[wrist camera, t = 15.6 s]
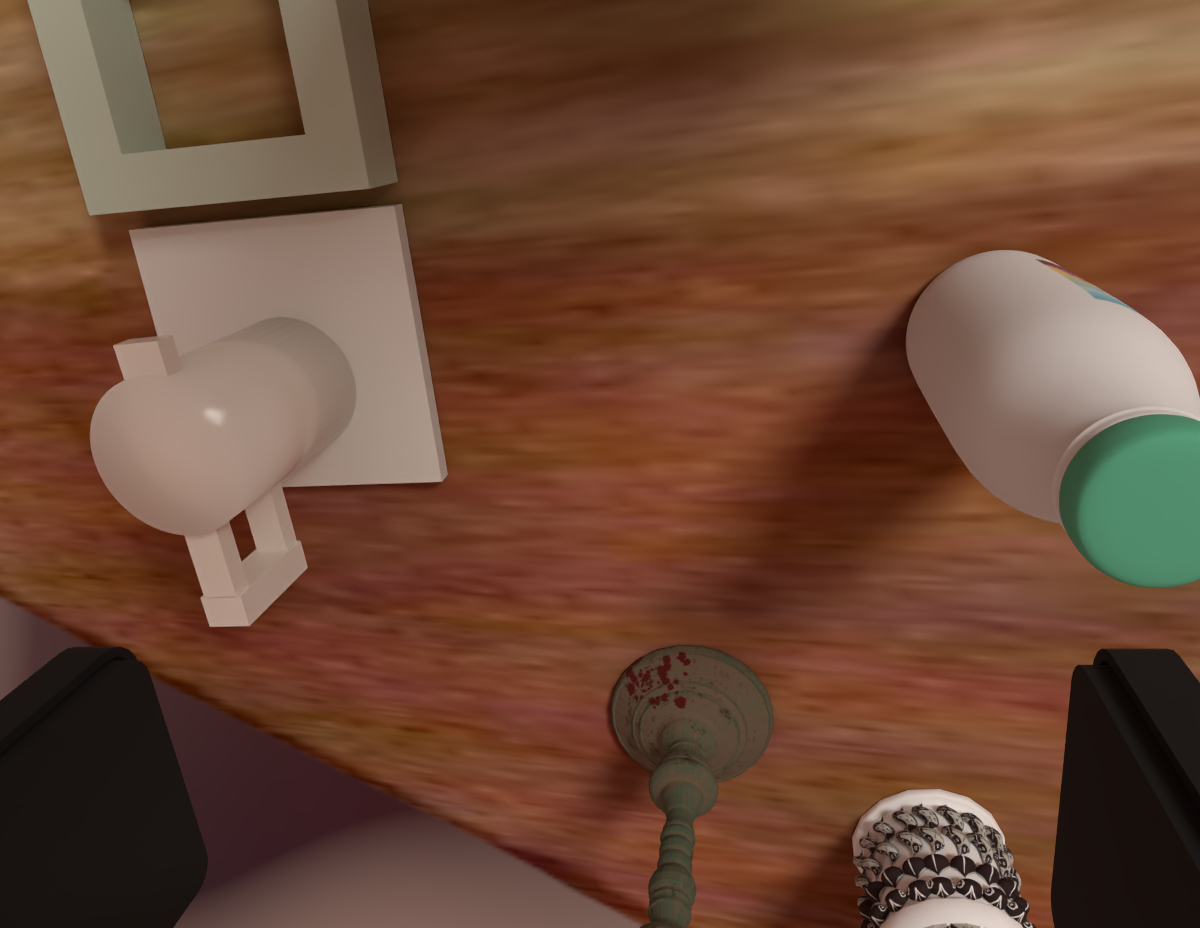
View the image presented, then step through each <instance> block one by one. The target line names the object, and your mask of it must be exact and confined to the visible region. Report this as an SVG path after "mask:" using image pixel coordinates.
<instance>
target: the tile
mask: <svg viewBox="0 0 1200 928" xmlns="http://www.w3.org/2000/svg"><path fill="white" fill-rule="evenodd" d="M129 234H130V237H131V241H132V245H133V248H134V252H135V256H136V259H137V263H138V267H139V270H140V274H141V278H142V281H143V285H144V288H145V292H146V296H147V299H148V303H149V307H150V310H151V314H152V318H153V321H154V325H155V329H156V332H157V336H167V335H173V339H174V342H175V345H176V349H177V352H178V355H179V356H181V355H184V354H186V353H188V352H190V351H193V350H195V349H197V348H200V347H202V346H204V345H206V344H209V343H211V342H213V341H215V340H218V339H220V338H222V337H225V336H227V335H229V334H231V333H234V332H236V331H238V330H240V329H243V328H245V327H247V326H250V325H252V324H254V323H256V322H259V321H261V320H264V319H268V318H273V317H288V318H294V319H298V320H301V321H304V322H307V323H309V324H311V325H313V326H315V327H317V328H318V329H320V330H321V331H323V332H324V333H325V334H326V335H328V336H329V337H330V338H331V339H332V340H333V341H334V342H335V343H336V344H337V345H338V347H339V348H340V349H341V351H342V352H343V353H344V355H345V357H346V359H347V360H348V362H349V364H350V367H351V369H352V372H353V375H354V379H355V384H356V406H355V410H354V414H353V416H352V419H351V421H350V423H349V424H348V426H347V427H346V429H345V430H344V431H343V432H342V433H341V434H340V435H339V436H338V437H337V438H336V439H334V440H333V441H332V442H330V443H329V444H328V445H327V446H325V447H324V448H323V449H321V450H320V451H319V452H318V453H316V454H315V455H314V456H312V457H311V458H310V459H309V460H307V461H306V462H305V463H303V464H302V465H301V466H300V467H298V468H297V469H296V470H294V471H293V472H292V473H290V474H289V475H288V476H287V477H285V478H284V479H283V480H281V481H280V482H281V486H282V487H300V486H330V485H360V484H391V483H421V482H442V481H443V480H444V479H445V477H446V476H447V475H448V473H447V467H446V461H445V455H444V449H443V443H442V437H441V431H440V425H439V420H438V414H437V408H436V402H435V396H434V390H433V384H432V378H431V372H430V366H429V361H428V355H427V349H426V343H425V337H424V331H423V325H422V319H421V313H420V308H419V302H418V296H417V290H416V284H415V278H414V272H413V266H412V260H411V254H410V249H409V243H408V237H407V231H406V225H405V219H404V213H403V207H402V204H393V205H382V206H371V207H360V208H349V209H338V210H327V211H316V212H305V213H294V214H284V215H273V216H262V217H251V218H240V219H229V220H218V221H207V222H196V223H185V224H174V225H163V226H153V227H142V228H137V229H132V230H129Z"/></svg>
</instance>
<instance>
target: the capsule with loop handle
mask: <svg viewBox="0 0 1200 928" xmlns="http://www.w3.org/2000/svg"><path fill="white" fill-rule="evenodd" d="M113 347H114V350H115V353H116V356H117V359H118V362H119V365H120V368H121V371H122V374H123V378H124V381H122V382H120V383H119V384H117V385H115V386H114V387H112V388H111V389H110V390H108V391H107V392H106V394H105V395H104V396H103V397H102V398H101V400H100V401H99V403H98V404H97V406H96V408H95V411H94V413H93V417H92V421H91V427H90V444H91V450H92V455H93V459H94V462H95V465H96V467H97V470H98V472H99V474H100V476H101V478H102V480H103V482H104V484H105V485H106V487H107V488H108V489H109V491H110V492H111V494H112V495H113V496H114V497H115V498H116V500H117V501H118V502H119V503H120V504H121V505H122V506H123V507H124V508H125V509H126V510H127V511H129V512H130V513H131V514H132V515H134V516H135V517H137V518H138V519H140V520H141V521H143V522H144V523H146V524H148V525H150V526H152V527H154V528H156V529H159V530H162V531H165V532H168V533H172V534H178V535H184V536H185V539H186V542H187V545H188V548H189V552H190V555H191V558H192V561H193V564H194V567H195V570H196V573H197V576H198V579H199V583H200V586H201V589H202V592H203V596H201V597H200V598H201V601H202V604H203V607H204V610H205V614H206V617H207V620H208V623H209V626H210V627H227V626H250V625H251V624H252V623H253V622H254V621H255V620H256V619H257V618H258V617H259V616H260V615H261V614H262V613H263V612H264V611H265V610H266V609H267V608H268V607H269V606H270V605H271V604H272V603H273V602H274V601H275V600H276V599H277V598H278V597H279V596H280V595H281V594H282V593H283V592H284V591H285V590H286V589H287V588H288V587H289V586H290V585H291V584H292V583H293V582H294V581H295V580H296V579H297V578H298V577H299V576H300V575H301V574H302V573H303V572H304V571H305V570H306V569H307V568H308V566H307V563H306V559H305V556H304V552H303V548H302V545H301V541H297V540H296V536H295V533H294V529H293V525H292V522H291V518H290V515H289V511H288V507H287V504H286V500H285V496H284V493H283V489H282V486H281V482H280V481H281V480H283V479H284V478H285V477H287V476H288V475H289V474H290V473H292V472H293V471H294V470H296V469H297V468H298V467H300V466H301V465H302V464H303V463H305V462H306V461H307V460H309V459H310V458H311V457H312V456H314V455H315V454H316V453H318V452H319V451H320V450H321V449H323V448H324V447H325V446H327V445H328V444H329V443H330V442H332V441H333V440H334V439H336V438H337V437H338V436H339V435H340V434H341V433H342V432H343V431H344V430H345V429H346V427H347V426H348V424H349V423H350V421H351V419H352V416H353V414H354V410H355V406H356V384H355V379H354V375H353V372H352V369H351V367H350V364H349V362H348V360H347V359H346V357H345V355H344V353H343V352H342V351H341V349H340V348H339V347H338V345H337V344H336V343H335V342H334V341H333V340H332V339H331V338H330V337H329V336H328V335H326V334H325V333H324V332H323V331H321V330H320V329H318V328H317V327H315V326H313V325H311V324H309V323H307V322H304V321H301V320H298V319H294V318H288V317H273V318H268V319H264V320H261V321H259V322H256V323H254V324H252V325H250V326H247V327H245V328H243V329H240V330H238V331H236V332H234V333H231V334H229V335H227V336H225V337H222V338H220V339H218V340H215V341H213V342H211V343H209V344H206V345H204V346H202V347H200V348H197V349H195V350H193V351H190V352H188V353H186V354H184V355H181V356H179V355H178V352H177V349H176V345H175V342H174V339H173V335H167V336H157V337H147V338H137V339H129V340H126V341H124V342H121V343H118V344H116V345H113ZM244 509H245V512H246V515H247V518H248V522H249V525H250V529H251V532H252V535H253V539H254V542H255V546H256V550H254V551H253V552H252V553H251V554H250V555H249V556H248V557H246V558H245V559H244V560H243V561H242V562H241V559H240V556H239V552H238V549H237V546H236V542H235V539H234V536H233V532H232V529H231V526H230V522H229V521H230V520H231V519H232V518H234V517H235V516H236V515H238V514H239V513H240V512H242V511H243V510H244Z"/></svg>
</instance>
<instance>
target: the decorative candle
mask: <svg viewBox="0 0 1200 928" xmlns="http://www.w3.org/2000/svg"><path fill="white" fill-rule="evenodd" d="M852 843H853V853H854V857H853V859H852V861H853V863H854V865H855V866H857V868H858V869H859V871H860V872H861V875H857V876H856V877H855V884H856V886H857V887H858V888H861V889H864V890H865V891H866V892H865V894H864V895H863V896H860V897H859V898H858V899H857V904H858V906H859V911H860V914H861V915H862V917H863V918H865V920H864V921H863V923H862V925H861V928H1036V927H1035V926H1034V925H1033V924H1032V923H1031V922H1029V921H1027V919H1026V918H1027V914H1028V912H1029V904H1028V903H1027V902H1026V901H1025V900H1024V899H1023V898H1021V895H1020V892H1019V890H1020V887H1021V878H1020V875H1019V874H1018V872H1017V871H1016V870H1015V869H1014V868H1013V867H1012V865H1013V855H1012V853H1011V851H1010V850H1009V849H1008V848H1007V847H1006V846H1005V838H1004V835H1003V833H1002V831H1001V830H1000V828H999V826H998V824H997V823H996V821H995V819H994V818H993V816H992V814H991V813H990V812H989V811H987V810H986V809H984V808H983V807H981V806H980V805H979V804H977V803H976V802H974V801H973V800H972V799H970V798H969V797H967V796H963V795H959V794H956V793H952V792H949V791H945V790H942V789H911V790H905V791H903V792H900V793H897V794H894V795H892V796H889V797H886V798H883V799H881V800H879V801H878V802H877V803H876V804H875V805H874V806H872V807H871V808H870V809H869V810H868V811H867V812H865V813H864V814H863V815H862V816H861V818H860V820H859V822H858V825H857V827H856V829H855V831H854V834H853V836H852Z"/></svg>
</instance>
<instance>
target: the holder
mask: <svg viewBox="0 0 1200 928" xmlns="http://www.w3.org/2000/svg"><path fill="white" fill-rule="evenodd" d="M27 1H28V4H29V8H30V11H31V15H32V18H33V22H34V25H35V29H36V32H37V35H38V39H39V42H40V46H41V49H42V53H43V56H44V60H45V63H46V67H47V70H48V74H49V77H50V81H51V84H52V88H53V91H54V95H55V98H56V102H57V105H58V109H59V112H60V116H61V119H62V123H63V126H64V130H65V133H66V137H67V140H68V144H69V147H70V150H71V154H72V157H73V161H74V164H75V168H76V171H77V175H78V178H79V182H80V185H81V189H82V192H83V196H84V199H85V203H86V206H87V210H88V213H89V216H90V215H100V214H111V213H121V212H132V211H142V210H153V209H163V208H174V207H184V206H194V205H205V204H215V203H226V202H236V201H247V200H257V199H268V198H278V197H289V196H299V195H310V194H320V193H331V192H341V191H352V190H362V189H371V188H375V187H379V186H383V185H388V184H392V183H396V182H398V178H397V172H396V166H395V160H394V154H393V148H392V142H391V137H390V131H389V125H388V119H387V113H386V107H385V101H384V95H383V89H382V83H381V78H380V72H379V66H378V60H377V54H376V48H375V42H374V36H373V30H372V24H371V19H370V13H369V7H368V1H367V0H278V1H279V6H280V11H281V16H282V21H283V26H284V31H285V36H286V41H287V46H288V51H289V56H290V61H291V66H292V71H293V76H294V81H295V86H296V91H297V96H298V101H299V106H300V111H301V116H302V121H303V126H304V131H305V135H296V136H286V137H277V138H268V139H259V140H249V141H240V142H231V143H222V144H212V145H203V146H194V147H185V148H176V149H167V148H166V144H165V141H164V137H163V133H162V129H161V125H160V121H159V117H158V113H157V109H156V105H155V101H154V97H153V93H152V89H151V85H150V81H149V77H148V73H147V69H146V65H145V61H144V57H143V53H142V49H141V45H140V41H139V37H138V33H137V29H136V25H135V21H134V17H133V13H132V9H131V6H130V2H129V0H27Z"/></svg>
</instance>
